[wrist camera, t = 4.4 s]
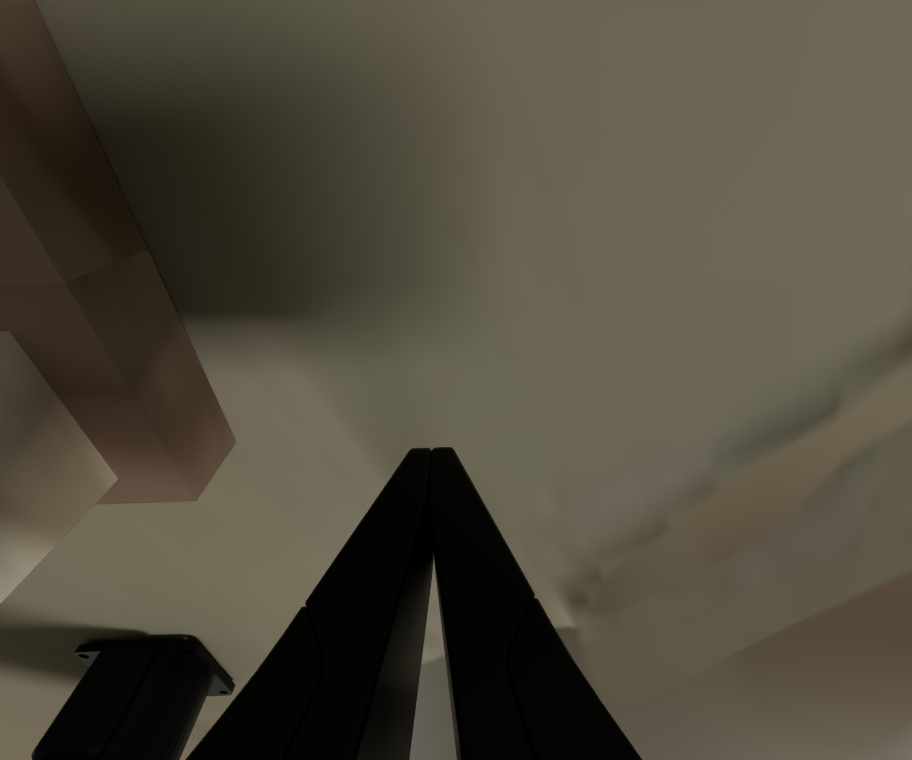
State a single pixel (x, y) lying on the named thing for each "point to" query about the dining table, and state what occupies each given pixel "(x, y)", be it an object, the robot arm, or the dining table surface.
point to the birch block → (39, 467)
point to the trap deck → (93, 285)
